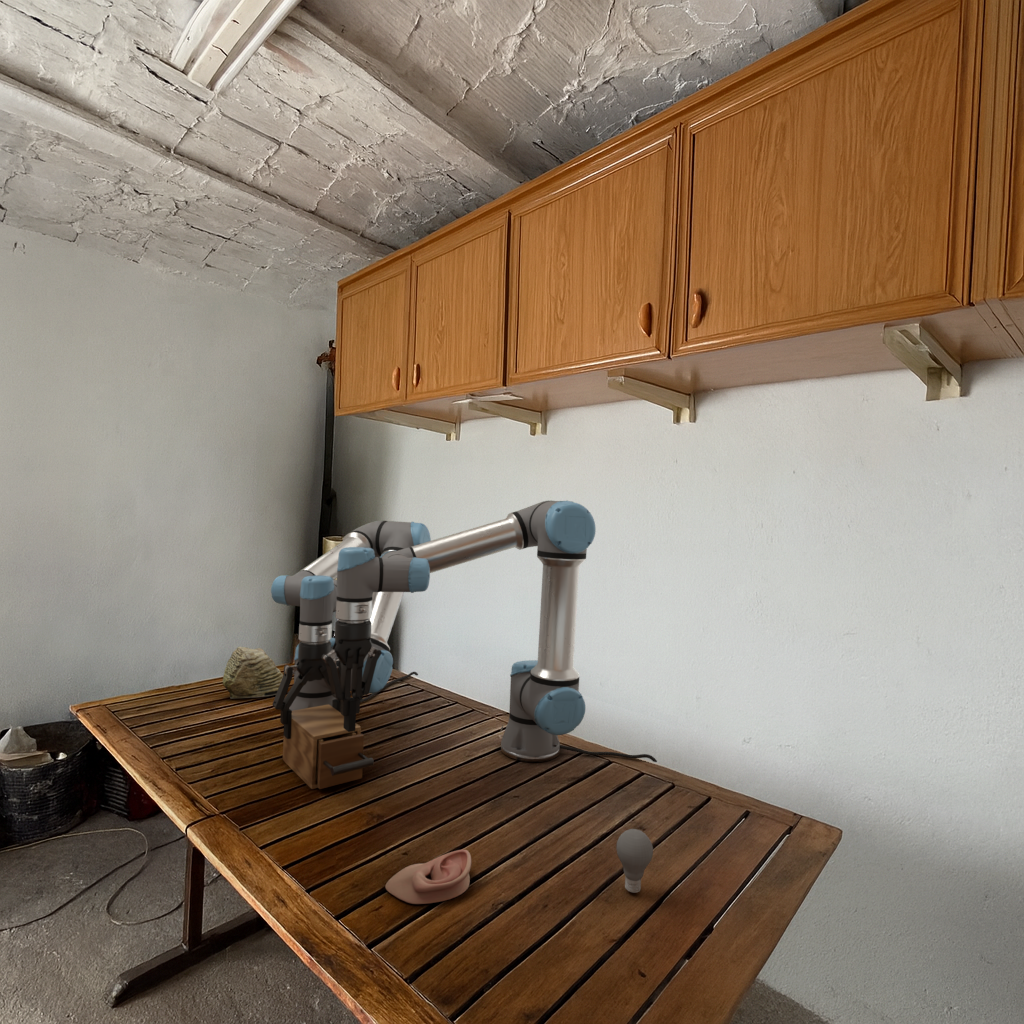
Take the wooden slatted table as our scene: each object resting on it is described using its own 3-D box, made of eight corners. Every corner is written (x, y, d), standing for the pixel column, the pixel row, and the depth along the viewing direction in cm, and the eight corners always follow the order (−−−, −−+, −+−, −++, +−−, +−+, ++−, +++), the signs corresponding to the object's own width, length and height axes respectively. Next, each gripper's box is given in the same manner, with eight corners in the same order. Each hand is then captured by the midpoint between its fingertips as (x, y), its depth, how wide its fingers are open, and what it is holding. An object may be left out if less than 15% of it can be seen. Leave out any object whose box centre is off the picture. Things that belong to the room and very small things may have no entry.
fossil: (218, 695, 195) (220, 647, 195) (278, 685, 208) (279, 640, 207) (228, 703, 189) (230, 653, 188) (289, 692, 201) (290, 645, 201)
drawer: (374, 788, 137) (376, 743, 136) (330, 800, 130) (332, 753, 130) (331, 752, 155) (332, 712, 154) (291, 761, 148) (292, 720, 148)
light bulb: (610, 879, 108) (613, 822, 108) (644, 879, 109) (647, 822, 109) (619, 902, 102) (622, 840, 102) (655, 901, 103) (658, 840, 103)
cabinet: (359, 777, 144) (361, 726, 144) (311, 789, 137) (313, 736, 137) (326, 750, 158) (328, 704, 158) (282, 760, 151) (284, 712, 151)
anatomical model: (378, 873, 101) (404, 836, 112) (377, 898, 101) (403, 858, 112) (458, 887, 98) (477, 848, 109) (457, 912, 98) (476, 870, 109)
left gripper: (270, 650, 141) (266, 747, 141) (367, 639, 156) (363, 727, 156) (259, 643, 147) (256, 736, 147) (354, 633, 162) (350, 718, 162)
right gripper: (331, 625, 128) (327, 741, 129) (389, 620, 136) (385, 728, 137) (317, 619, 134) (313, 729, 135) (373, 614, 142) (369, 718, 143)
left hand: (311, 732), depth 152 cm, fingers closed on cabinet, 11 cm apart
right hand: (349, 729), depth 136 cm, fingers closed
